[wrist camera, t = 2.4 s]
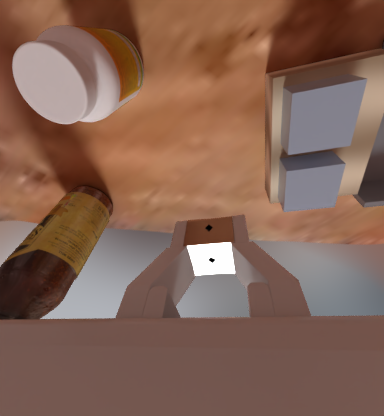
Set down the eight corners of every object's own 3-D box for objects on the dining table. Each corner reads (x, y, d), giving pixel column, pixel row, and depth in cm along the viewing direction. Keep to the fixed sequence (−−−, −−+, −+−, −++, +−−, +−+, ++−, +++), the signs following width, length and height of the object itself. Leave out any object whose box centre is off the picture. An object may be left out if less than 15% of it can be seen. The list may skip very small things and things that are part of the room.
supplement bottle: (103, 10, 17) (10, -14, 9) (156, 67, 19) (117, 85, 11) (75, 69, 19) (-15, 88, 12) (124, 113, 21) (75, 153, 14)
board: (265, 73, 18) (272, 78, 16) (377, 48, 17) (404, 50, 14) (265, 188, 25) (270, 203, 23) (343, 178, 24) (357, 194, 21)
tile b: (279, 158, 20) (286, 171, 18) (332, 150, 19) (345, 163, 17) (277, 197, 23) (283, 211, 21) (323, 191, 22) (334, 206, 20)
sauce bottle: (71, 175, 27) (-126, 363, 11) (119, 195, 28) (2, 388, 13) (67, 210, 31) (-84, 386, 15) (109, 226, 32) (10, 402, 16)
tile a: (283, 87, 16) (292, 93, 14) (348, 73, 15) (367, 78, 13) (280, 143, 19) (287, 155, 17) (335, 134, 18) (350, 145, 16)
